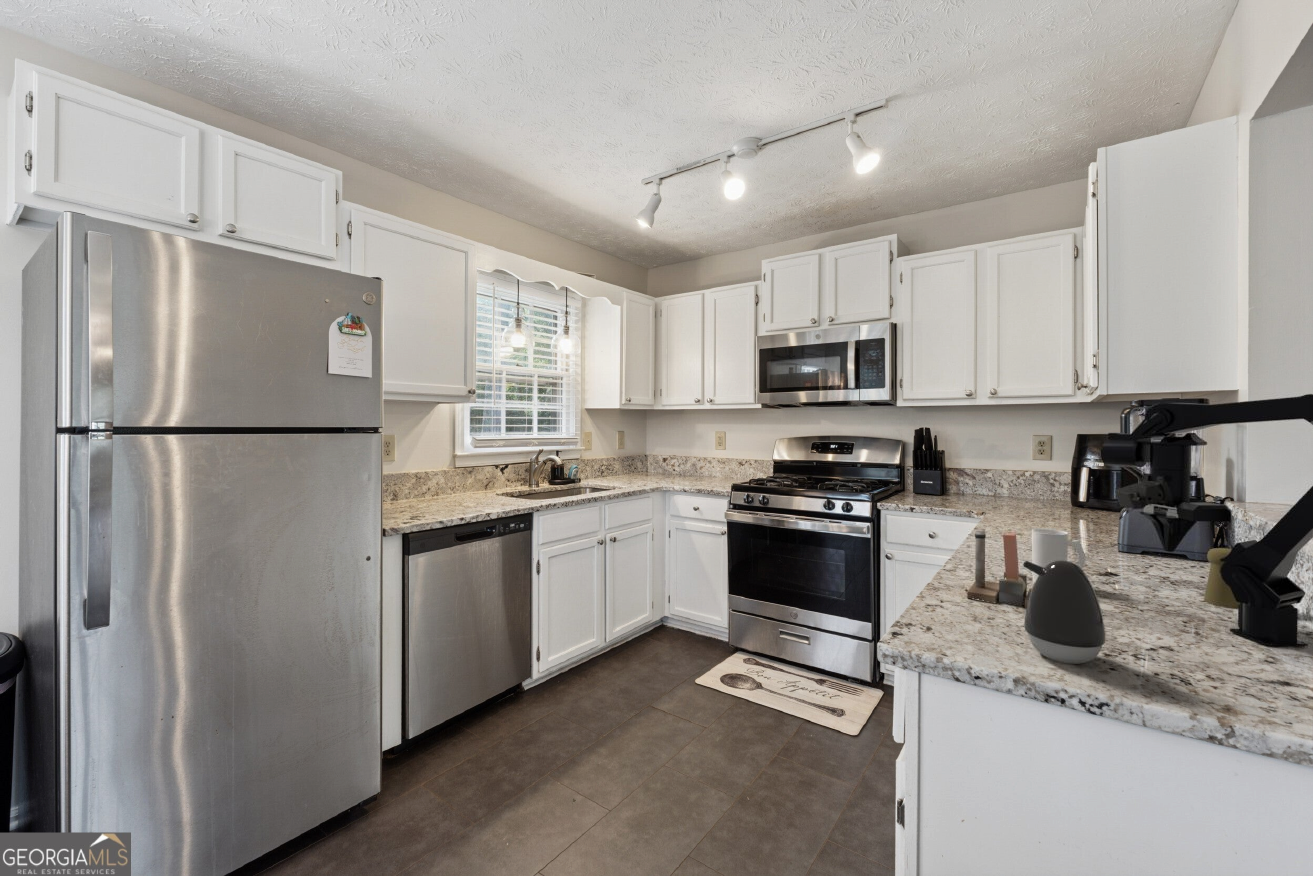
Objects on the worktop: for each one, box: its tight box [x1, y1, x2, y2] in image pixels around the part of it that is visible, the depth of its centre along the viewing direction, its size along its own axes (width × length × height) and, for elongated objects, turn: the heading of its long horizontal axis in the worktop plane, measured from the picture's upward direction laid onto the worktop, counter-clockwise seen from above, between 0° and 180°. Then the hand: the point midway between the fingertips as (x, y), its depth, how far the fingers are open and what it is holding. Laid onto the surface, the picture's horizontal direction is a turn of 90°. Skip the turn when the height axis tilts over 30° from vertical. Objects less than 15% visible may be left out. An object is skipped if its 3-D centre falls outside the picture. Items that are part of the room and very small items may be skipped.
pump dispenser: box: [1023, 560, 1106, 665], centre depth 86 cm, size 10×10×15 cm
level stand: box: [967, 529, 1033, 609], centre depth 115 cm, size 15×11×14 cm
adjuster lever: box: [1002, 532, 1026, 593], centre depth 115 cm, size 4×4×13 cm
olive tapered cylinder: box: [1203, 547, 1240, 610], centre depth 110 cm, size 6×6×11 cm
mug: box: [1031, 528, 1086, 584], centre depth 123 cm, size 10×7×12 cm, turn 33°
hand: (1169, 551), depth 105 cm, fingers closed
